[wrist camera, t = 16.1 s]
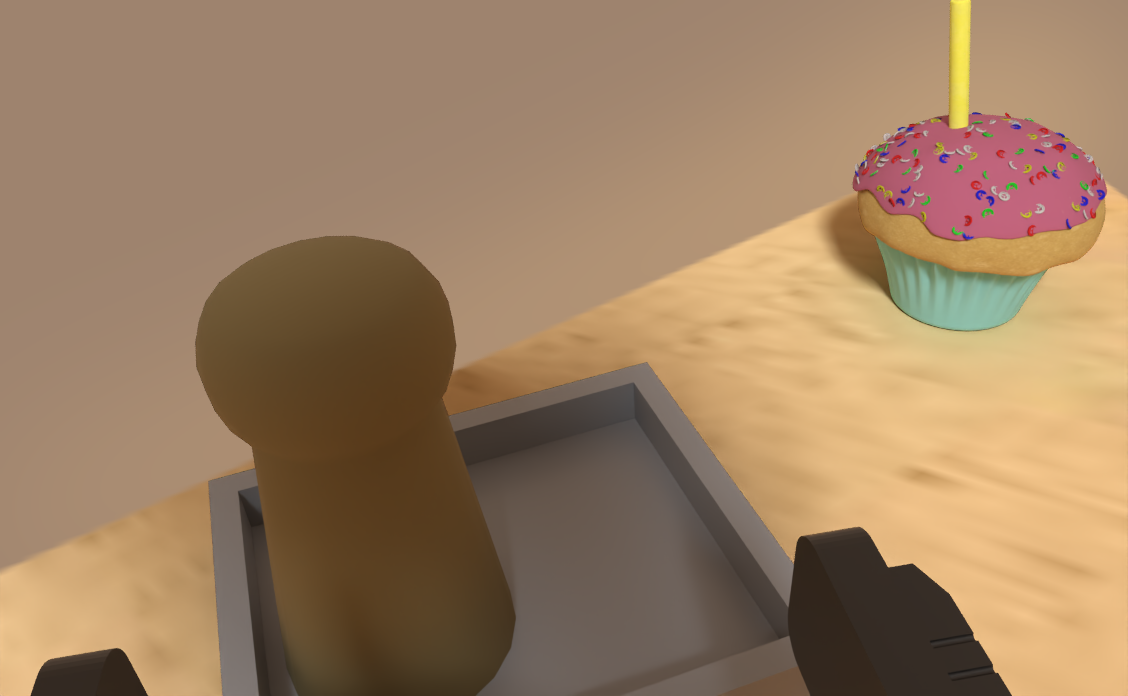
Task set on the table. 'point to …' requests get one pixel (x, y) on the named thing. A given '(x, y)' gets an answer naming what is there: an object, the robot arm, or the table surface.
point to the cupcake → (975, 205)
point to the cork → (358, 468)
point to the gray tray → (574, 554)
